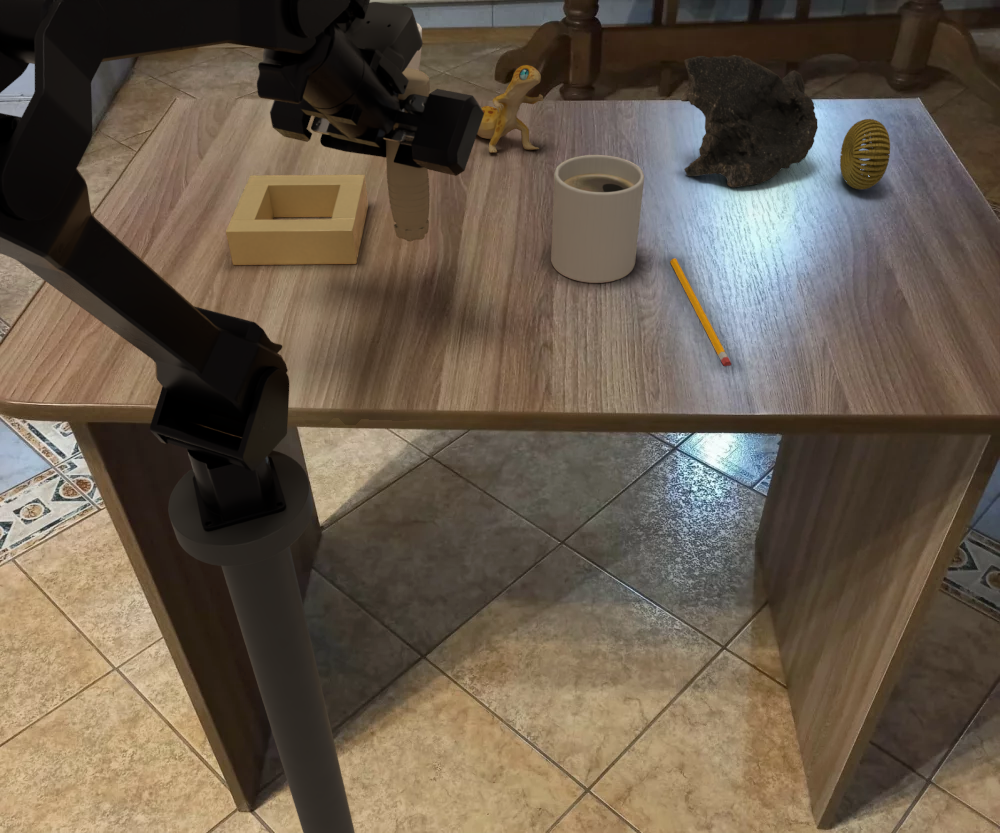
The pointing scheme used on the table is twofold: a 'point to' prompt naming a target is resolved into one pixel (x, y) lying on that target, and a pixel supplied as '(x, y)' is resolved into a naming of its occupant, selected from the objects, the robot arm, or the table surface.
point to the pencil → (701, 313)
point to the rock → (748, 119)
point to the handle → (409, 177)
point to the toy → (510, 109)
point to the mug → (596, 217)
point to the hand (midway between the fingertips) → (413, 157)
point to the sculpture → (865, 154)
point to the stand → (298, 220)
